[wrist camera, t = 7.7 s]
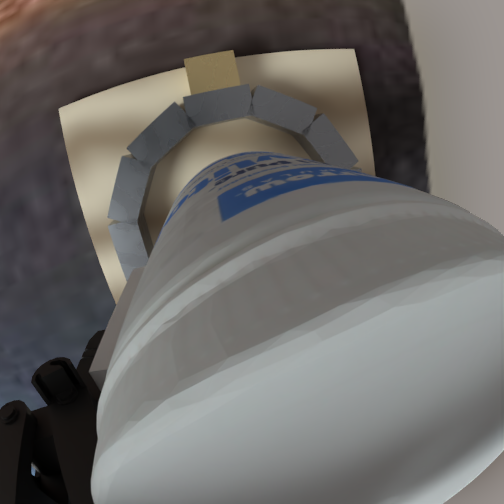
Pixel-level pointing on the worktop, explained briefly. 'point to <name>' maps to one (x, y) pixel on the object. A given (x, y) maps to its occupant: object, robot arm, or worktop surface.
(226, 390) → the supplement tub
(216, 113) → the ring
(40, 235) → the worktop surface
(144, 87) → the base plate
